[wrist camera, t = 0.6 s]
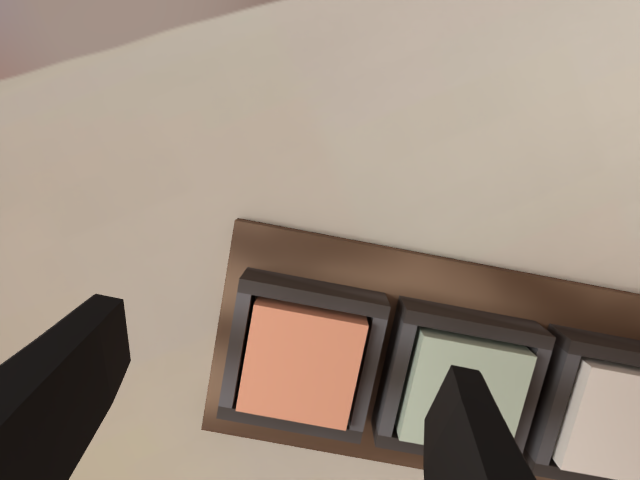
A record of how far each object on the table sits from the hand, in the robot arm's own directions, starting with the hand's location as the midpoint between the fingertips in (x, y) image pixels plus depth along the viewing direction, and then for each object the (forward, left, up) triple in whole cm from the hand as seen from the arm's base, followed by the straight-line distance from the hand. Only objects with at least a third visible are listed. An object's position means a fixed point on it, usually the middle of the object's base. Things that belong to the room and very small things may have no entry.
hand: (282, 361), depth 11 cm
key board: (-7, -10, -20) cm, 24 cm away
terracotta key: (-7, -1, -17) cm, 19 cm away
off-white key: (-7, -20, -17) cm, 27 cm away
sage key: (-7, -10, -17) cm, 22 cm away
